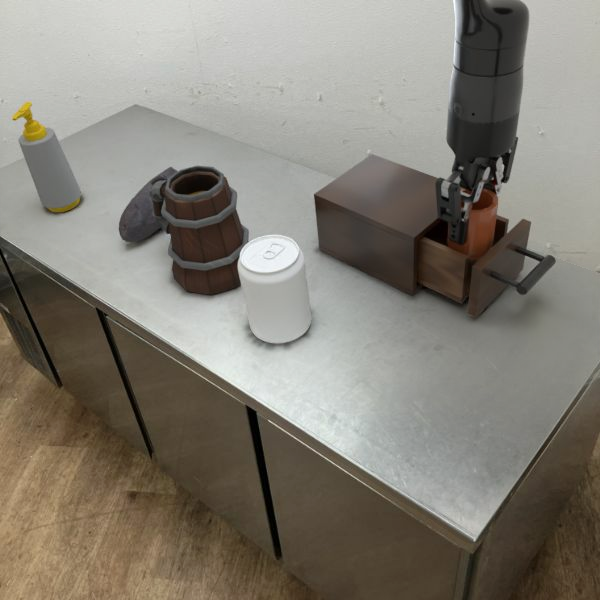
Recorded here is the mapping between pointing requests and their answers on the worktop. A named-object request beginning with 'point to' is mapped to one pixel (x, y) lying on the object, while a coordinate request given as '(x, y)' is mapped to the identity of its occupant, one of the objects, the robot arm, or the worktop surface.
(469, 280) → the drawer
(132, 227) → the perforated stone tool
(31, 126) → the soap bottle
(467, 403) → the worktop surface
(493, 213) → the cup
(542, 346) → the worktop surface
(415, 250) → the cabinet
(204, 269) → the mug
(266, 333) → the beverage can
